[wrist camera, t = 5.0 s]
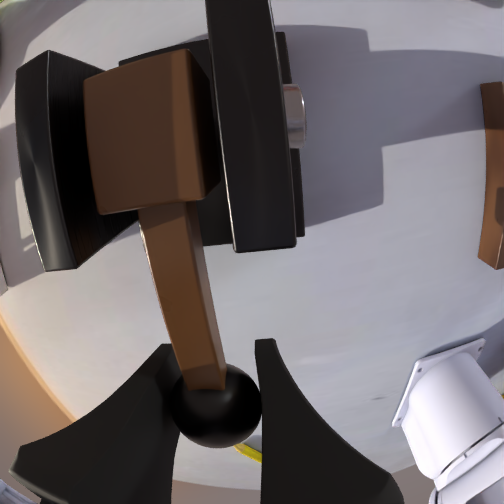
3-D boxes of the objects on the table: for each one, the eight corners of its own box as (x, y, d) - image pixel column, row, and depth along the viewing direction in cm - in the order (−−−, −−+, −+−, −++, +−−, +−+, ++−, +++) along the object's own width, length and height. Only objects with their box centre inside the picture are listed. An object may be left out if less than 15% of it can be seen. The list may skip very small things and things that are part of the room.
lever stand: (301, 229, 14) (369, 364, 5) (152, 245, 15) (50, 369, 6) (282, 39, 11) (324, -93, 2) (127, 66, 11) (-8, 9, 2)
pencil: (322, 484, 25) (315, 487, 25) (321, 478, 26) (314, 481, 26) (234, 444, 20) (226, 448, 21) (234, 436, 21) (226, 439, 22)
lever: (264, 398, 10) (266, 461, 7) (190, 400, 10) (177, 460, 7) (226, 77, 6) (210, 35, 3) (120, 101, 6) (57, 84, 4)
